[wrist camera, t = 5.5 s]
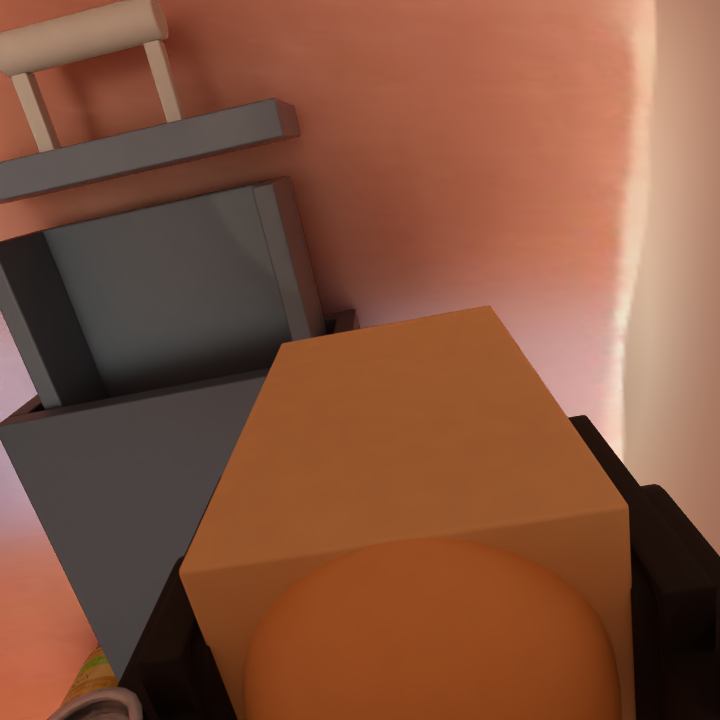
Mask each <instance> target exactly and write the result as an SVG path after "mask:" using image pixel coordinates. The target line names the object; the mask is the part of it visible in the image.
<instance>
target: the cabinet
mask: <svg viewBox="0 0 720 720" xmlns="http://www.w3.org/2000/svg"><path fill="white" fill-rule="evenodd" d="M323 317H324V321H325V325H326V329H327V334H328V335H331V334H336V333H341V332H347V331H352V330H358V329H360V326H359V322H358V317H357V313H356V310H349V311H344V312H339V313H334V314H329V315H324V316H323ZM270 369H271V368H267V369H261V370H256V371H251V372H246V373H240V374H235V375H230V376H224V377H219V378H214V379H209V380H203V381H198V382H193V383H187V384H182V385H177V386H172V387H166V388H161V389H156V390H151V391H145V392H140V393H135V394H129V395H124V396H119V397H114V398H108V399H103V400H98V401H92V402H87V403H82V404H77V405H71V406H66V407H61V408H55V409H50V410H45V409H44V407H43V404H42V402H41V400H40V398H39V395H36V396H35V397H34V398H32V399H31V400H30V401H28V402H27V403H26V404H24V405H23V406H22V407H21V408H19V409H18V410H17V411H15V412H14V413H13V414H11V415H10V416H9V417H8V418H6V419H5V420H4V421H2V422H1V423H0V440H1V442H2V444H3V446H4V448H5V450H6V452H7V454H8V456H9V458H10V460H11V462H12V465H13V467H14V469H15V471H16V473H17V475H18V477H19V479H20V481H21V483H22V485H23V487H24V489H25V491H26V493H27V495H28V497H29V500H30V502H31V504H32V506H33V508H34V510H35V512H36V514H37V516H38V518H39V520H40V522H41V524H42V526H43V528H44V530H45V532H46V535H47V537H48V539H49V541H50V543H51V545H52V547H53V549H54V551H55V553H56V555H57V557H58V559H59V561H60V563H61V565H62V568H63V570H64V572H65V574H66V576H67V578H68V580H69V582H70V584H71V586H72V588H73V590H74V592H75V594H76V596H77V598H78V600H79V603H80V605H81V607H82V609H83V611H84V613H85V615H86V617H87V619H88V621H89V623H90V625H91V627H92V629H93V631H94V633H95V636H96V638H97V640H98V642H99V644H100V646H101V648H102V650H103V652H104V654H105V656H106V658H107V660H108V662H109V664H110V666H111V668H112V671H113V673H114V675H115V677H116V679H117V680H118V681H120V679H121V677H122V675H123V673H124V671H125V669H126V666H127V664H128V662H129V660H130V658H131V656H132V654H133V652H134V649H135V647H136V645H137V643H138V641H139V639H140V637H141V634H142V632H143V630H144V628H145V626H146V624H147V622H148V620H149V617H150V615H151V613H152V611H153V609H154V607H155V605H156V603H157V600H158V598H159V596H160V594H161V592H162V590H163V588H164V586H165V583H166V581H167V579H168V577H169V575H170V573H171V571H172V568H173V566H174V564H175V563H176V561H177V560H178V558H180V557H182V556H184V555H185V553H186V550H187V548H188V546H189V544H190V542H191V539H192V537H193V535H194V533H195V531H196V529H197V526H198V524H199V522H200V520H201V518H202V515H203V513H204V511H205V509H206V507H207V504H208V502H209V500H210V498H211V496H212V493H213V491H214V489H215V487H216V485H217V482H218V480H219V478H220V477H221V475H223V472H224V470H225V468H226V466H227V463H228V461H229V459H230V457H231V455H232V452H233V450H234V448H235V446H236V444H237V441H238V439H239V437H240V435H241V433H242V430H243V428H244V426H245V424H246V422H247V419H248V417H249V415H250V413H251V411H252V408H253V406H254V404H255V402H256V399H257V397H258V395H259V393H260V391H261V388H262V386H263V384H264V382H265V380H266V377H267V375H268V373H269V371H270Z"/></svg>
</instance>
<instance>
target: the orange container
mask: <svg viewBox="0 0 720 720" xmlns="http://www.w3.org/2000/svg"><path fill="white" fill-rule="evenodd" d="M179 575H180V578H181V580H182V583H183V586H184V588H185V591H186V593H187V596H188V599H189V601H190V604H191V606H192V609H193V612H194V614H195V617H196V619H197V622H198V625H199V627H200V630H201V632H202V635H203V637H204V640H205V643H206V645H207V646H210V649H211V651H212V654H213V657H214V659H215V662H216V664H217V667H218V670H219V672H220V675H221V677H222V680H223V683H224V685H225V688H226V691H227V693H228V696H229V698H230V701H231V704H232V706H233V709H234V711H235V714H236V717H237V719H238V720H636V703H635V680H634V657H633V635H632V612H631V588H632V577H631V553H630V530H629V507H628V504H627V503H626V501H625V500H624V498H623V497H622V496H621V494H620V493H619V491H618V490H617V488H616V487H615V485H614V484H613V482H612V481H611V480H610V478H609V477H608V475H607V474H606V472H605V471H604V469H603V468H602V467H601V465H600V464H599V462H598V461H597V459H596V458H595V456H594V455H593V454H592V452H591V451H590V449H589V448H588V446H587V445H586V443H585V442H584V441H583V439H582V438H581V436H580V435H579V433H578V432H577V430H576V429H575V427H574V426H573V425H572V423H571V422H570V420H569V419H568V417H567V416H566V414H565V413H564V412H563V410H562V409H561V407H560V406H559V404H558V403H557V401H556V400H555V399H554V397H553V396H552V394H551V393H550V391H549V390H548V388H547V387H546V386H545V384H544V383H543V381H542V380H541V378H540V377H539V375H538V374H537V372H536V371H535V370H534V368H533V367H532V365H531V364H530V362H529V361H528V359H527V358H526V357H525V355H524V354H523V352H522V351H521V349H520V348H519V346H518V345H517V344H516V342H515V341H514V339H513V338H512V336H511V335H510V333H509V332H508V331H507V329H506V328H505V326H504V325H503V323H502V322H501V320H500V319H499V317H498V316H497V315H496V313H495V312H494V310H493V309H492V307H491V306H483V307H478V308H472V309H467V310H461V311H456V312H450V313H445V314H439V315H434V316H429V317H423V318H418V319H412V320H407V321H401V322H396V323H390V324H385V325H380V326H374V327H369V328H363V329H358V330H352V331H347V332H341V333H336V334H331V335H325V336H320V337H314V338H309V339H303V340H298V341H292V342H287V343H283V344H281V346H280V349H279V351H278V353H277V355H276V358H275V360H274V362H273V364H272V366H271V369H270V371H269V373H268V375H267V377H266V380H265V382H264V384H263V386H262V388H261V391H260V393H259V395H258V397H257V399H256V402H255V404H254V406H253V408H252V411H251V413H250V415H249V417H248V419H247V422H246V424H245V426H244V428H243V430H242V433H241V435H240V437H239V439H238V441H237V444H236V446H235V448H234V450H233V452H232V455H231V457H230V459H229V461H228V463H227V466H226V468H225V470H224V472H223V475H222V477H221V479H220V481H219V483H218V486H217V488H216V490H215V492H214V494H213V497H212V499H211V501H210V503H209V505H208V508H207V510H206V512H205V514H204V516H203V519H202V521H201V523H200V525H199V528H198V530H197V532H196V534H195V536H194V539H193V541H192V543H191V545H190V547H189V550H188V552H187V554H186V556H185V558H184V561H183V563H182V565H181V567H180V570H179Z"/></svg>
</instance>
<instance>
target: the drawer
mask: <svg viewBox="0 0 720 720" xmlns="http://www.w3.org/2000/svg"><path fill="white" fill-rule="evenodd" d="M167 38H168V25H167V21H166V18H165V15H164V12H163V10H162V7H161V5H160V3H159V1H158V0H124V1H120V2H116V3H112V4H108V5H104V6H100V7H97V8H93V9H89V10H85V11H81V12H77V13H73V14H69V15H65V16H62V17H58V18H54V19H50V20H46V21H42V22H38V23H34V24H31V25H27V26H23V27H19V28H15V29H11V30H7V31H3V32H0V71H1V72H2V73H3V74H5V75H6V76H8V77H11V79H12V81H13V84H14V86H15V89H16V92H17V94H18V97H19V100H20V102H21V105H22V107H23V110H24V113H25V115H26V118H27V120H28V123H29V126H30V128H31V131H32V134H33V136H34V139H35V141H36V144H37V147H38V149H39V152H40V153H37V154H33V155H28V156H24V157H20V158H16V159H11V160H7V161H3V162H0V204H2V203H8V202H13V201H17V200H21V199H26V198H30V197H35V196H39V195H43V194H48V193H52V192H57V191H61V190H65V189H70V188H74V187H79V186H83V185H87V184H92V183H96V182H101V181H105V180H109V179H114V178H118V177H123V176H127V175H131V174H136V173H140V172H145V171H149V170H153V169H158V168H162V167H167V166H171V165H175V164H180V163H184V162H189V161H193V160H197V159H202V158H206V157H211V156H215V155H219V154H224V153H228V152H233V151H237V150H242V149H246V148H250V147H255V146H259V145H264V144H268V143H272V142H277V141H281V140H286V139H290V138H294V137H299V136H300V130H299V126H298V122H297V117H296V113H295V108H294V106H293V105H290V104H288V103H285V102H283V101H280V100H278V99H275V98H271V99H267V100H263V101H258V102H254V103H250V104H246V105H241V106H237V107H233V108H229V109H224V110H220V111H216V112H212V113H207V114H203V115H199V116H195V117H190V118H186V117H185V113H184V110H183V106H182V103H181V99H180V96H179V93H178V89H177V86H176V82H175V79H174V76H173V72H172V69H171V65H170V62H169V58H168V55H167V52H166V48H165V45H164V43H163V42H162V40H166V39H167ZM142 45H144V49H145V52H146V55H147V58H148V62H149V65H150V68H151V72H152V75H153V78H154V82H155V85H156V88H157V91H158V95H159V98H160V101H161V105H162V108H163V111H164V114H165V118H166V121H167V123H165V124H160V125H156V126H152V127H148V128H143V129H139V130H135V131H131V132H126V133H122V134H118V135H114V136H109V137H105V138H101V139H97V140H92V141H88V142H84V143H79V144H75V145H71V146H67V147H62V148H61V146H60V143H59V140H58V138H57V135H56V132H55V130H54V127H53V124H52V121H51V119H50V116H49V113H48V111H47V108H46V105H45V102H44V100H43V97H42V94H41V92H40V89H39V86H38V83H37V81H36V78H35V75H34V74H30V73H33V72H37V71H41V70H45V69H49V68H53V67H57V66H61V65H65V64H69V63H73V62H77V61H81V60H85V59H89V58H93V57H97V56H101V55H105V54H109V53H113V52H117V51H121V50H126V49H130V48H134V47H138V46H142ZM0 310H1V312H2V315H3V317H4V319H5V321H6V324H7V326H8V328H9V330H10V333H11V335H12V337H13V339H14V342H15V344H16V346H17V348H18V351H19V353H20V355H21V357H22V360H23V362H24V364H25V366H26V369H27V371H28V373H29V375H30V377H31V380H32V382H33V384H34V386H35V389H36V391H37V393H38V395H39V398H40V400H41V402H42V404H43V407H44V409H45V410H50V409H55V408H61V407H66V406H71V405H77V404H82V403H87V402H92V401H98V400H103V399H108V398H114V397H119V396H124V395H129V394H135V393H140V392H145V391H151V390H156V389H161V388H166V387H172V386H177V385H182V384H187V383H193V382H198V381H203V380H209V379H214V378H219V377H224V376H230V375H235V374H240V373H246V372H251V371H256V370H261V369H267V368H271V366H272V364H273V362H274V360H275V358H276V355H277V353H278V351H279V349H280V346H281V344H283V343H287V342H292V341H298V340H303V339H309V338H314V337H320V336H325V335H328V334H327V329H326V325H325V321H324V317H323V313H322V309H321V305H320V300H319V296H318V292H317V288H316V284H315V280H314V276H313V271H312V267H311V263H310V259H309V255H308V251H307V247H306V242H305V238H304V234H303V230H302V226H301V222H300V218H299V213H298V209H297V205H296V201H295V197H294V193H293V189H292V184H291V180H290V177H289V176H284V177H280V178H275V179H271V180H266V181H262V182H257V183H253V184H248V185H244V186H239V187H234V188H230V189H225V190H221V191H216V192H212V193H207V194H203V195H198V196H194V197H189V198H185V199H180V200H176V201H171V202H167V203H162V204H158V205H153V206H148V207H144V208H139V209H135V210H130V211H126V212H121V213H117V214H112V215H108V216H103V217H99V218H94V219H90V220H85V221H81V222H76V223H72V224H67V225H63V226H58V227H53V228H49V229H44V230H40V231H36V232H32V233H28V234H25V235H21V236H18V237H14V238H11V239H7V240H3V241H0Z"/></svg>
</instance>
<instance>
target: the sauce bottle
mask: <svg viewBox="0 0 720 720" xmlns="http://www.w3.org/2000/svg"><path fill="white" fill-rule="evenodd" d="M118 683H119V681H118V680H117V679H116V677H115V675H114V673H113V671H112V668H111V666H110V664H109V662H108V660H107V658H106V656H105V654H104V652H103V650H102V648H101V646H100V644H98V646H97V648H96V650H95V651H93V652H92V653H91V654H90V656H89V657H88V658H87V660H86V661H85V663H84V665H83V667H82V668H81V670H80V672H79V674H78V675H77V677H76V679H75V681H74V682H73V684H72V686H71V688H70V689H69V691H68V693H67V695H66V697H65V698H64V700H63V702H62V704H61V705H60V707H59V708H61V707H62V706H64V705H65V704H67V703H68V702H70V701H71V700H73V699H74V698H76V697H78V696H81V695H83V694H85V693H87V692H90V691H92V690H95V689H100V688H105V687H110V686H112V687H117V686H118Z"/></svg>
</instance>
